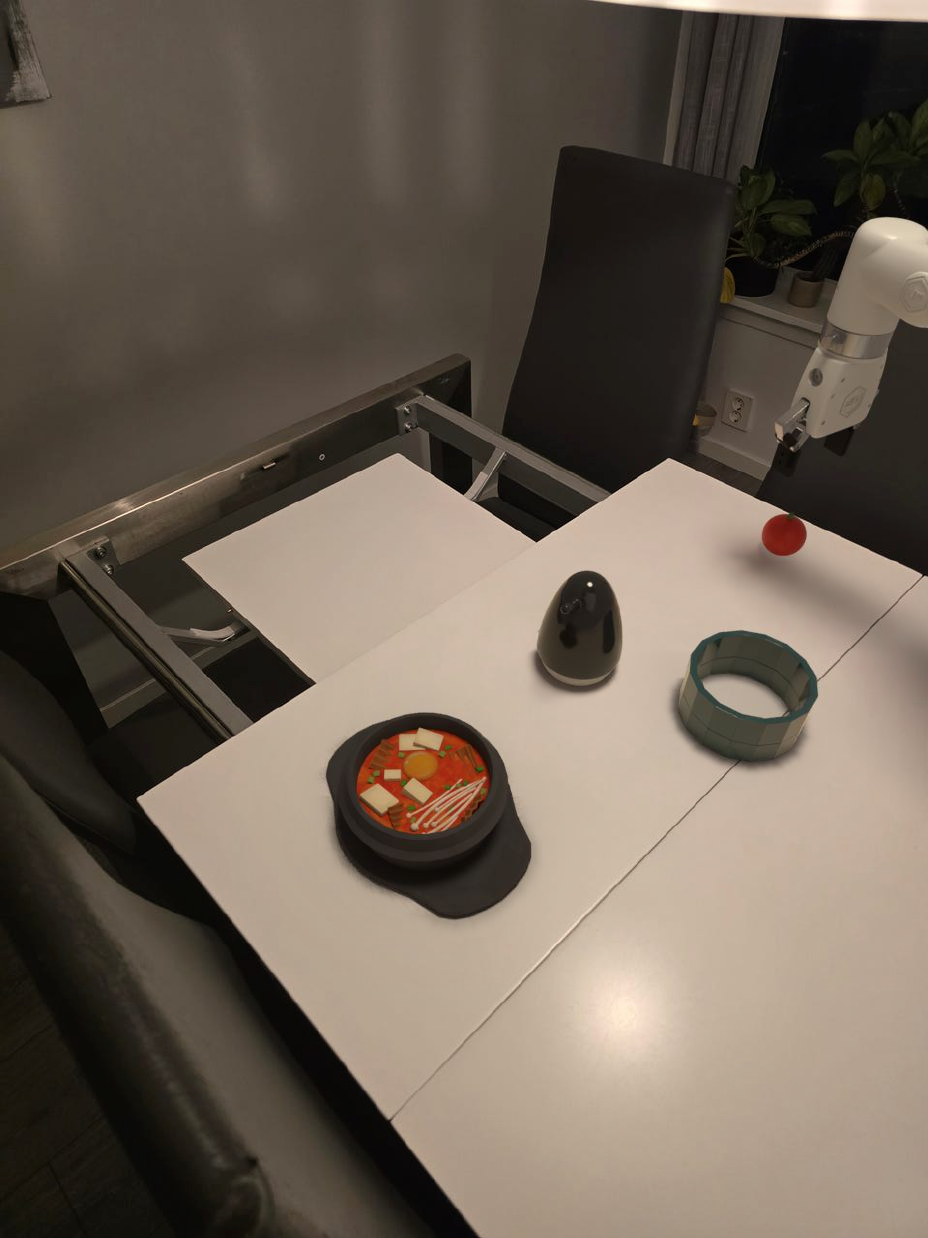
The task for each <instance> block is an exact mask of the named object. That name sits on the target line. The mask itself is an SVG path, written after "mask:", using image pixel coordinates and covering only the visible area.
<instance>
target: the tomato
mask: <svg viewBox="0 0 928 1238" xmlns="http://www.w3.org/2000/svg"><path fill="white" fill-rule="evenodd" d="M807 538H808V531H807V527H806V525H805V524H804V522H803V521H802V519H800V518H799V517H797V516H795V513H794V512H789V513H782V514H777V515H775V516H773V517H771V518H770V519H768V520H767V521H766V522H765V524H764V525H763V528H762V531H761V541H762V544H763V546H764V547H765V549H766V550H767V551H768V552H769V553H771V554H772V555H775V556H779V557H789V556H792V555H794V554H797V552H799V551H800V550H801V549H802V548H803V547H804V546H805V543H806V541H807Z"/></svg>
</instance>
